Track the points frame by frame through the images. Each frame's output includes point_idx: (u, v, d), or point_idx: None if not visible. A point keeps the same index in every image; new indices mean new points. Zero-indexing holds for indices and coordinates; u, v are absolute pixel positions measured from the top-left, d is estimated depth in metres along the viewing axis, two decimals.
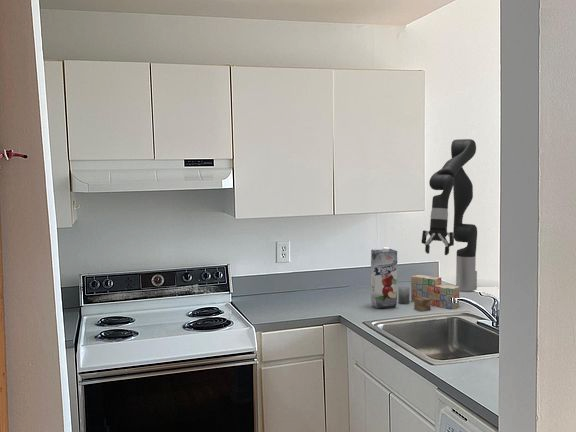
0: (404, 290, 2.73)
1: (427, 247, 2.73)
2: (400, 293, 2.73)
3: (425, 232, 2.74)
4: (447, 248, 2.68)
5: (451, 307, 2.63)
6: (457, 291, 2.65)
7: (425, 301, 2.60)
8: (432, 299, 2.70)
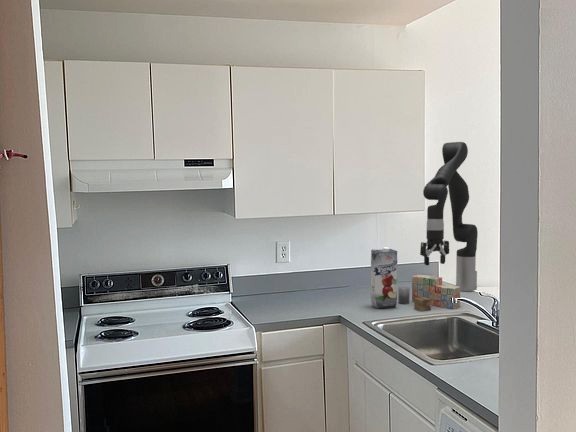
0: (404, 290, 2.73)
1: (428, 259, 2.68)
2: (400, 293, 2.73)
3: (425, 244, 2.67)
4: (444, 257, 2.72)
5: (452, 307, 2.63)
6: (458, 291, 2.65)
7: (425, 301, 2.60)
8: (433, 299, 2.70)
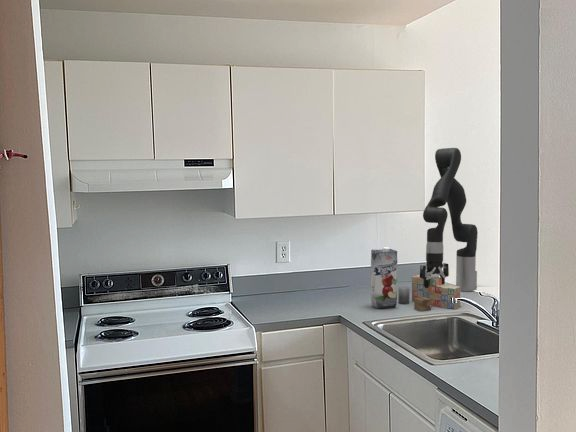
0: (404, 290, 2.73)
1: (428, 282, 2.69)
2: (400, 293, 2.73)
3: None
4: (444, 279, 2.73)
5: (452, 307, 2.63)
6: (458, 291, 2.65)
7: (425, 301, 2.60)
8: (433, 299, 2.69)
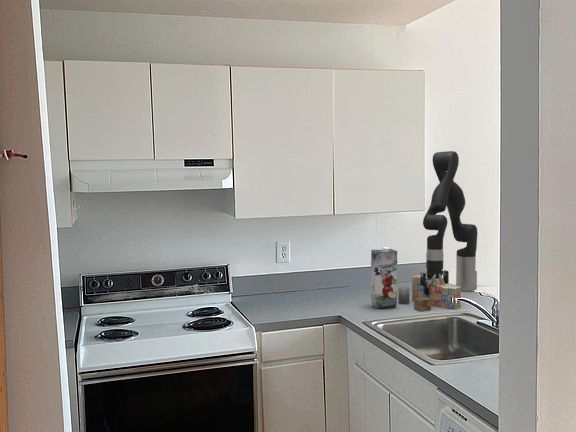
0: (404, 290, 2.73)
1: (428, 289, 2.69)
2: (400, 293, 2.73)
3: None
4: None
5: (453, 307, 2.63)
6: (458, 291, 2.65)
7: (425, 301, 2.60)
8: (433, 299, 2.69)
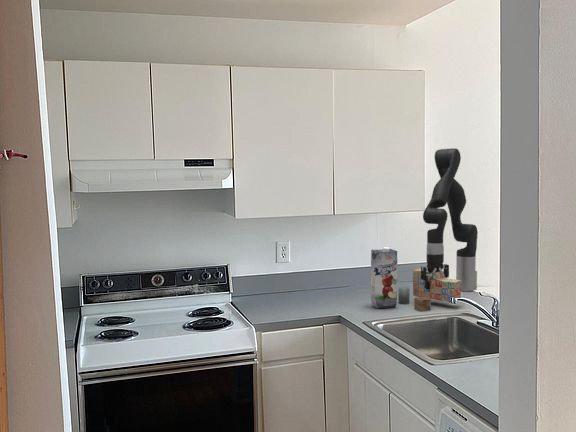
0: (404, 290, 2.73)
1: (429, 283, 2.69)
2: (400, 293, 2.73)
3: (425, 268, 2.68)
4: None
5: None
6: (459, 285, 2.65)
7: (425, 301, 2.60)
8: (434, 293, 2.69)
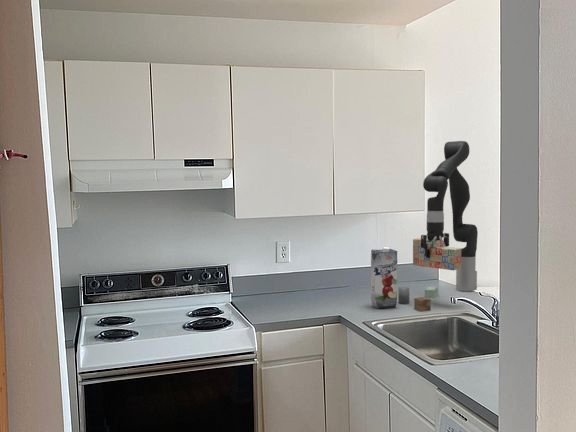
0: (404, 290, 2.73)
1: (429, 251, 2.68)
2: (400, 293, 2.73)
3: (425, 236, 2.67)
4: None
5: (453, 268, 2.61)
6: (459, 252, 2.63)
7: (425, 301, 2.60)
8: (434, 261, 2.68)
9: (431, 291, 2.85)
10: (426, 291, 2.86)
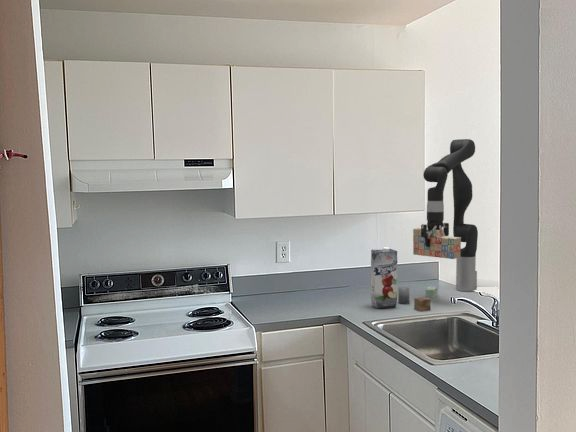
0: (404, 290, 2.73)
1: (429, 241, 2.73)
2: (400, 293, 2.73)
3: None
4: None
5: (452, 257, 2.66)
6: (458, 242, 2.68)
7: (425, 301, 2.60)
8: (434, 250, 2.72)
9: (432, 291, 2.85)
10: (427, 291, 2.86)
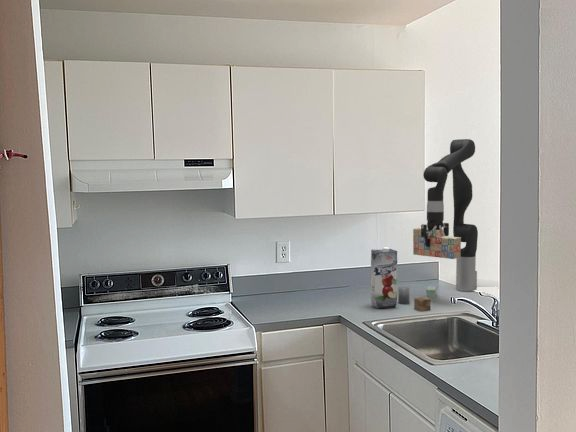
0: (404, 290, 2.73)
1: (429, 241, 2.73)
2: (400, 293, 2.73)
3: None
4: None
5: (452, 257, 2.66)
6: (458, 242, 2.68)
7: (425, 301, 2.60)
8: (434, 250, 2.72)
9: (433, 291, 2.85)
10: (428, 291, 2.85)
